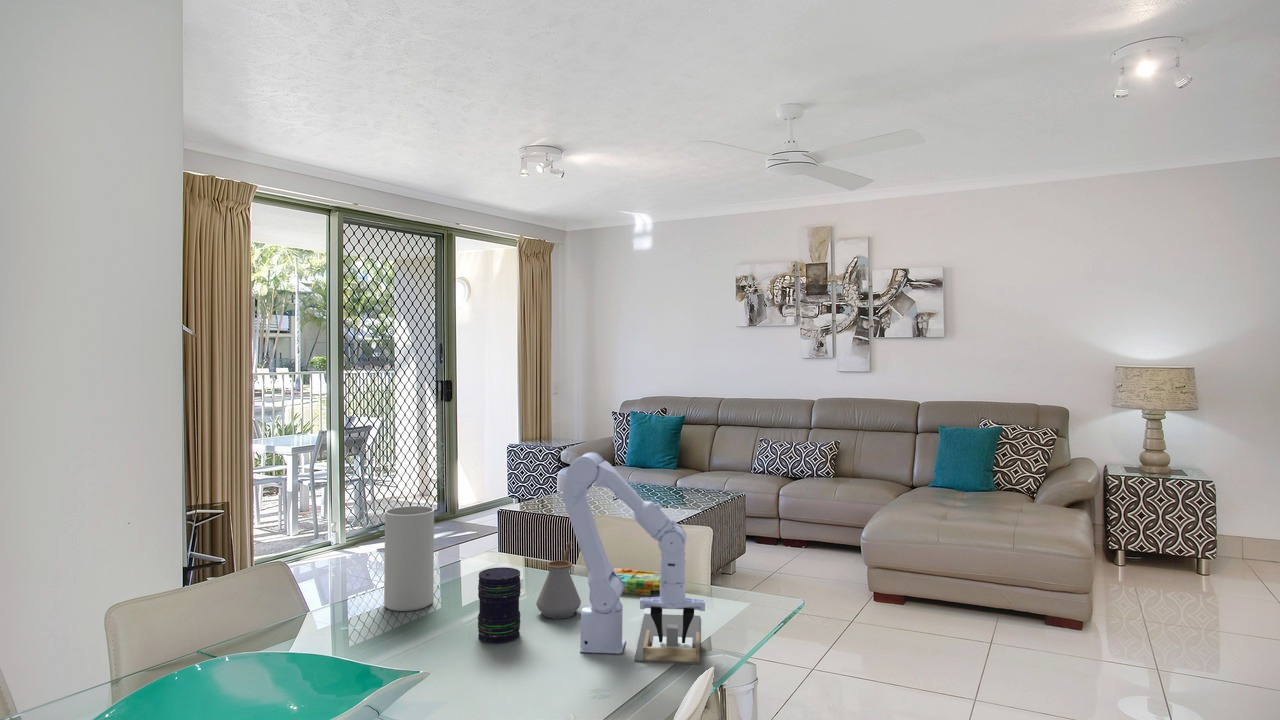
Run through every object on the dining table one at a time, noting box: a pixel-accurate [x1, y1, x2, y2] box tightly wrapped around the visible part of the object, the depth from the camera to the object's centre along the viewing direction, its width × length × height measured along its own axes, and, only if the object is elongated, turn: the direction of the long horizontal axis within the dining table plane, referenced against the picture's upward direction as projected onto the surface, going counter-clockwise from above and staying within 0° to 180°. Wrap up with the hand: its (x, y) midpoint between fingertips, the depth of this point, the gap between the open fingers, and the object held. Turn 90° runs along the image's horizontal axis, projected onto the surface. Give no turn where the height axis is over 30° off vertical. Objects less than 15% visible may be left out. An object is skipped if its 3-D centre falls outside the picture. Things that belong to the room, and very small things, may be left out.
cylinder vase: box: [383, 505, 435, 612], centre depth 196 cm, size 12×12×25 cm
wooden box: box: [643, 630, 701, 662], centre depth 164 cm, size 12×11×3 cm
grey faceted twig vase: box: [535, 541, 582, 620], centre depth 194 cm, size 21×12×15 cm, turn 174°
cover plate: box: [652, 624, 693, 648], centre depth 165 cm, size 9×9×5 cm
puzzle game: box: [613, 567, 660, 596], centre depth 211 cm, size 12×5×20 cm
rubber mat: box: [633, 613, 701, 666], centre depth 173 cm, size 14×30×1 cm, turn 175°
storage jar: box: [477, 566, 522, 645], centre depth 173 cm, size 10×10×15 cm
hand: (672, 641), depth 165 cm, fingers open, 4 cm apart
